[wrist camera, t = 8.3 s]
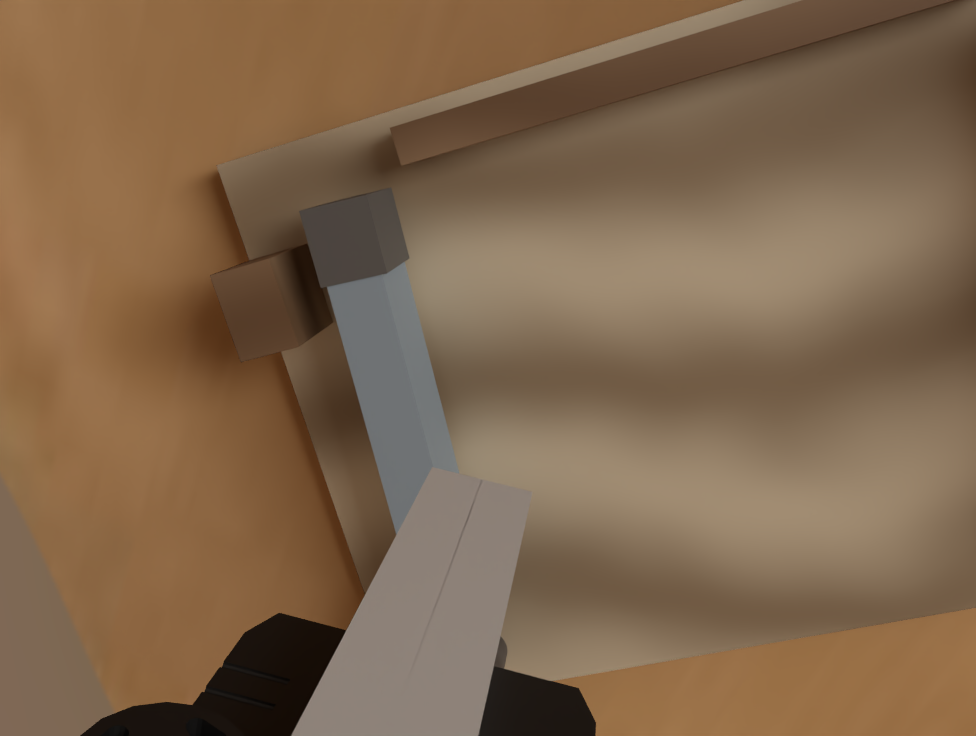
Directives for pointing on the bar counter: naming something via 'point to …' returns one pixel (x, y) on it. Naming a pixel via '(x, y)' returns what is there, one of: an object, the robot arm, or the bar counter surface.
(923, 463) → the board
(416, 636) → the robot arm
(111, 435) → the bar counter surface
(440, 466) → the leg
